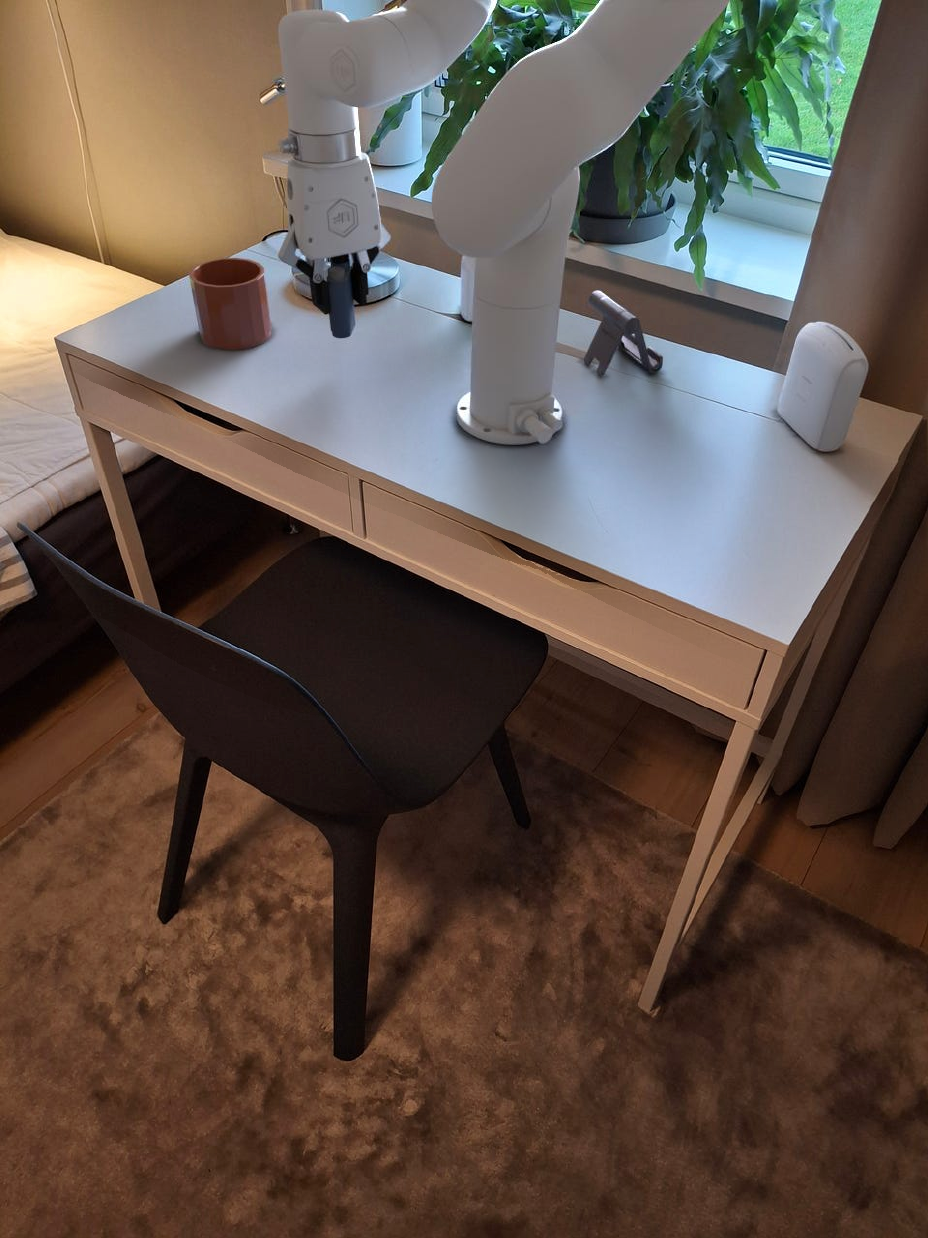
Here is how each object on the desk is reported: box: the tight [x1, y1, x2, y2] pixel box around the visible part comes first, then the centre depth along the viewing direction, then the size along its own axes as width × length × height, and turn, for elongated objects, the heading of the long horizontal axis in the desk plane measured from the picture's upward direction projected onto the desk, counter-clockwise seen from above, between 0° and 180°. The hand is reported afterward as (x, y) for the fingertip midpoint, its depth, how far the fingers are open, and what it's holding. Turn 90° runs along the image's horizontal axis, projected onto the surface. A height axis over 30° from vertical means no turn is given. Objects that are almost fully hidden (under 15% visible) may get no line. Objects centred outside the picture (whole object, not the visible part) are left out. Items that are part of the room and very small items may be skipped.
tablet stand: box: [583, 290, 664, 377], centre depth 118 cm, size 9×8×8 cm
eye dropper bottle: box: [459, 255, 475, 322], centre depth 127 cm, size 4×6×12 cm
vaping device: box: [325, 254, 356, 339], centre depth 112 cm, size 3×5×12 cm, turn 174°
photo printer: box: [777, 321, 869, 452], centre depth 106 cm, size 10×4×12 cm, turn 14°
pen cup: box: [189, 257, 273, 351], centre depth 122 cm, size 9×9×8 cm
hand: (341, 304), depth 114 cm, fingers closed on vaping device, 4 cm apart
